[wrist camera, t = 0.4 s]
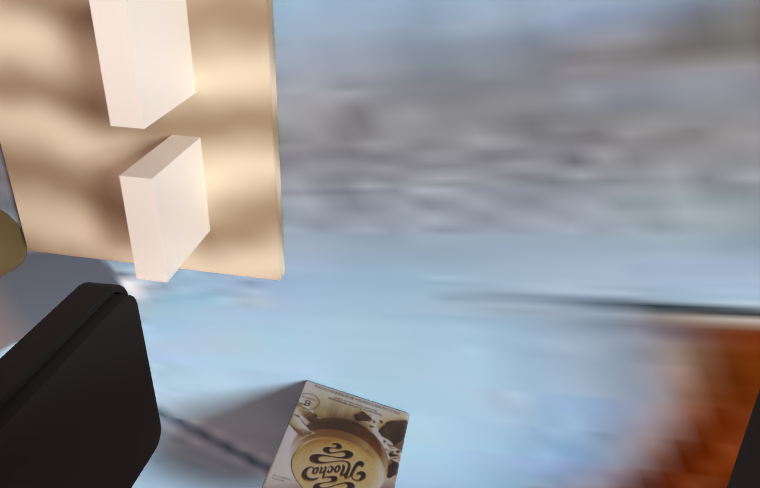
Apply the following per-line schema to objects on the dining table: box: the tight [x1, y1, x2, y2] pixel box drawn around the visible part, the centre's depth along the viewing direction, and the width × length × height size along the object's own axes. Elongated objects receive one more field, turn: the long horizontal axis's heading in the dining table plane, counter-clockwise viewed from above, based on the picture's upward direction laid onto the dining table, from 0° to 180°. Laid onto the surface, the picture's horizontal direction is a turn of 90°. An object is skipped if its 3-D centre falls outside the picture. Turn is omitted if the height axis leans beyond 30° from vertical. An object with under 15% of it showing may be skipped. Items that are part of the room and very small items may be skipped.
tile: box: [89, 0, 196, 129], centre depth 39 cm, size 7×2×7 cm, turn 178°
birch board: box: [0, 0, 285, 280], centre depth 45 cm, size 24×20×1 cm
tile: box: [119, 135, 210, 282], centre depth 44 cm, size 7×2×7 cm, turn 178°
